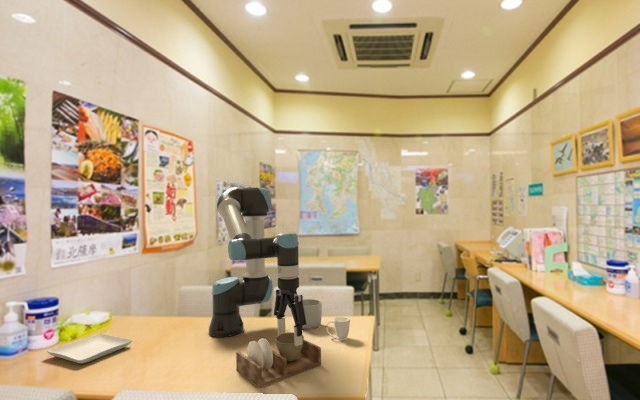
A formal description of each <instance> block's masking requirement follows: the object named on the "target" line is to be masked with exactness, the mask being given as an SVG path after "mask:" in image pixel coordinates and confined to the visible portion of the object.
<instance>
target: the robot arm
mask: <svg viewBox="0 0 640 400" xmlns="http://www.w3.org/2000/svg"><path fill="white" fill-rule="evenodd" d="M271 198H272V197H271V194H270V192H269V190H268V189H267V188H265V187H239V186H238V187H231V188H228V189H227V190H225V191H224V192H222V193H221V194H220V195H219V197H218V200H217V201H216V202H217V203H216V208H217V212H218V214H219V216H221V217H222V219H223V222H224V224H225V227H226V231H227V234H228V235H229V238H230V240H229V242H228V245H227V253H228V258H229V260H231V261H234V262H235V261H240V262H241V261H245V268H246V269H245V272H244V273H243V275H242V279H240V278H239V277H237V276H232V277H231V276H230V277H224V278H222V279H218V280H216V281H215V282H214V283H213V284H212V288H211V291H212V292H211V296H212V299H211V300H212V317H211V320H210V322H209V326H208V335H209V336H212V337H216V338H227V337H234V336H237V335H239V334H241V333H243V332H244V330H245V327H244V322H243V319H242V316H241V314H240V307H243V306H244V307H245V306H250V305H251V306H253V305H257V304H258V305H260V304H264V303H268V302H269V301H270V299H271V297H272V295H273V288H274V285H273V280H272V277H270V276H269V273H268V272H267V271H266V264H265V261H266V260H265V259H272V258H277V259H276V261H277V263H276V266H277V269H276V271H277V277H278V278H277V288H278V289H276V290H275V299H274V300H275V302H274V306H273V307H274V309H273V316H276V319H277V336H278V335H280V334H283V333H286V318H285V317H286V315H285V313H286V310H287V308H289V309H290V311H291V315H292V317H293V322H294V325H293V333H294V346H299V345H302V335H303V328H302V326H303V325H306V318H305V312H304V307H303V300H304V298H303V297H304V296H303V294H298V291H297V290H298V288H300V278H299V276H300V263H299V261H300V258H299V244H300V243H299V236H298V234H297V233H296V232H281V233H278V234H277V236H271V237H265V219H266V218H267V217H268V213H271V211H272V199H271Z"/></svg>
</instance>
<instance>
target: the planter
mask: <svg viewBox="0 0 640 400" xmlns="http://www.w3.org/2000/svg"><path fill="white" fill-rule="evenodd" d="M322 306H323V302H322V300H320V299H315V298H307V299H306V298H305V299H304V298H303V307H304V312H305V318H306V325H303V326H302V329H305V330H311V329H316V328H317V327H319V326H320V325H321V324H322V315H323V314H322V313H323V311H322V310H323V307H322Z"/></svg>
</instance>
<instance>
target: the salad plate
mask: <svg viewBox="0 0 640 400" xmlns="http://www.w3.org/2000/svg"><path fill="white" fill-rule="evenodd" d="M132 342H133V339H130V338H125V337H120V336H115V335H110V334H106V333H98V334H94V335H91V336H88V337H85V338H81V339H77V340H76V341H72V342H68V343H66V344H63V345H60V346H57V347H54V348H51V349H48V350H47V351H46V353H47V354H49V355H50V356H53V357H56V358H60V359H63V360H67V361H71V362H73V363H77V364H82V365H83V364H86V363H89V362H93V361H94V360H97V359H100V358H102V357H105V356H107V355H109V354H112V353H115V352H117V351H120V350H122V349H124V348H126V347H127V346H130V345H131V343H132Z"/></svg>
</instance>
